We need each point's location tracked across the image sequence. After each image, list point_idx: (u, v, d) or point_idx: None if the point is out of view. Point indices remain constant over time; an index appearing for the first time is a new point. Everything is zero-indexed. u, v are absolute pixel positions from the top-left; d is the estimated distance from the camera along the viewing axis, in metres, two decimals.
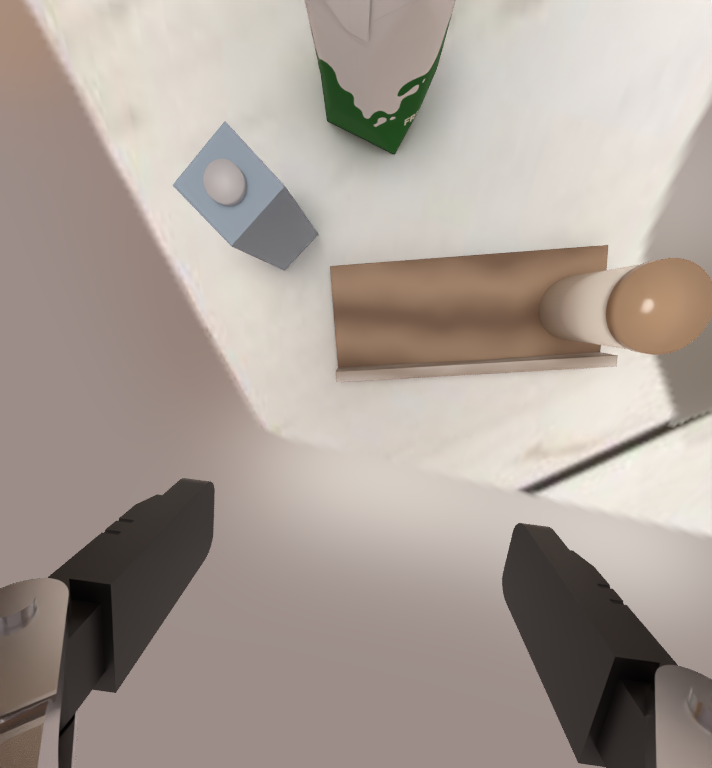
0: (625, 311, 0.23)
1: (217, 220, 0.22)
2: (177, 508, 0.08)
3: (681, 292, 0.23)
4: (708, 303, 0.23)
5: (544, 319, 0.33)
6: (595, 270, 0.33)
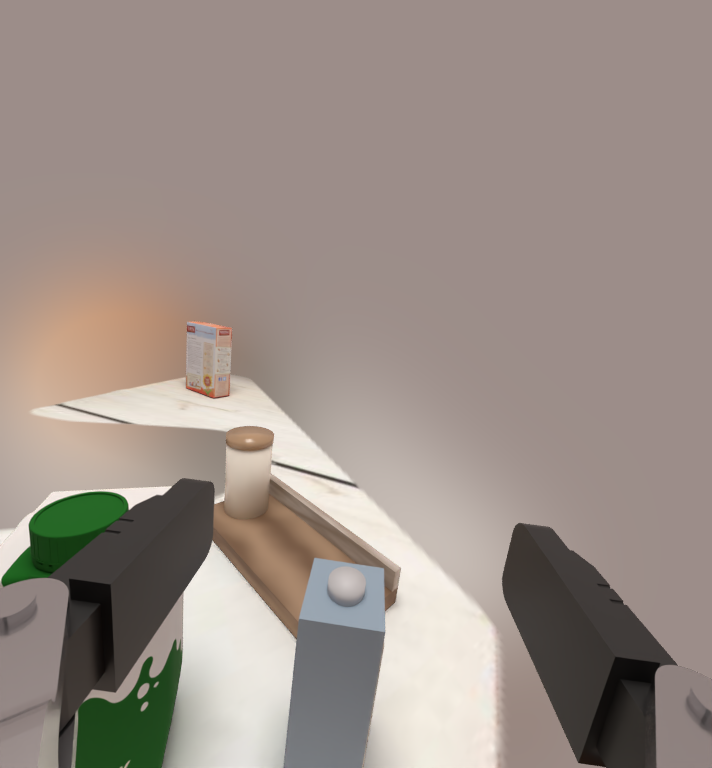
0: (260, 440, 0.46)
1: (376, 585, 0.23)
2: (177, 508, 0.08)
3: (241, 433, 0.47)
4: (239, 428, 0.49)
5: (263, 508, 0.48)
6: (217, 507, 0.49)
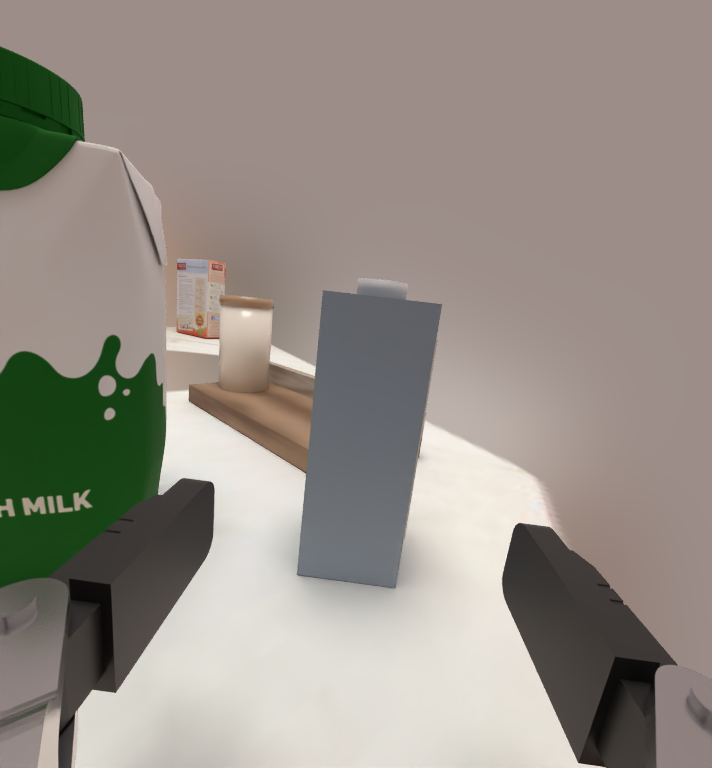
0: None
1: None
2: (177, 508, 0.08)
3: None
4: None
5: (262, 384, 0.43)
6: (210, 384, 0.43)
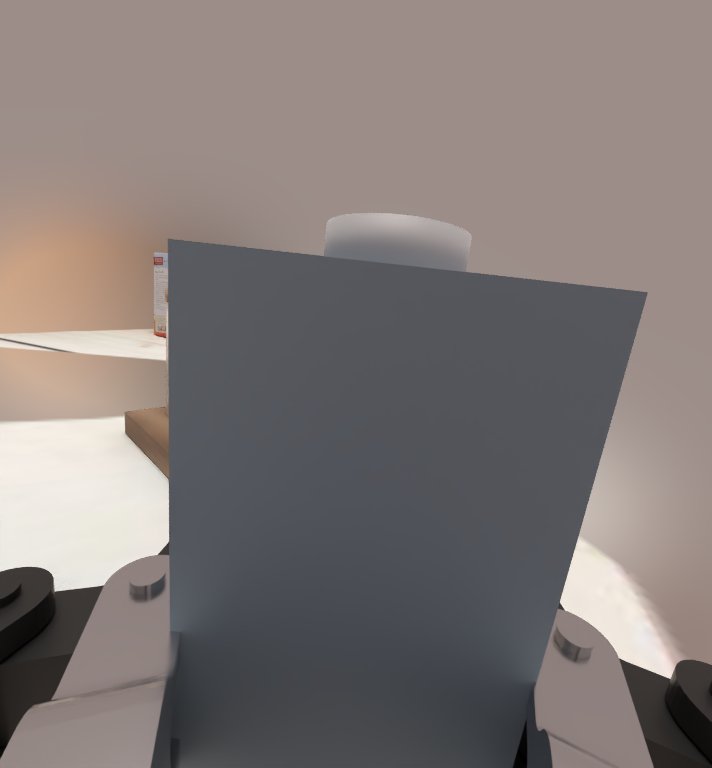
0: None
1: None
2: None
3: None
4: None
5: None
6: (155, 411, 0.32)
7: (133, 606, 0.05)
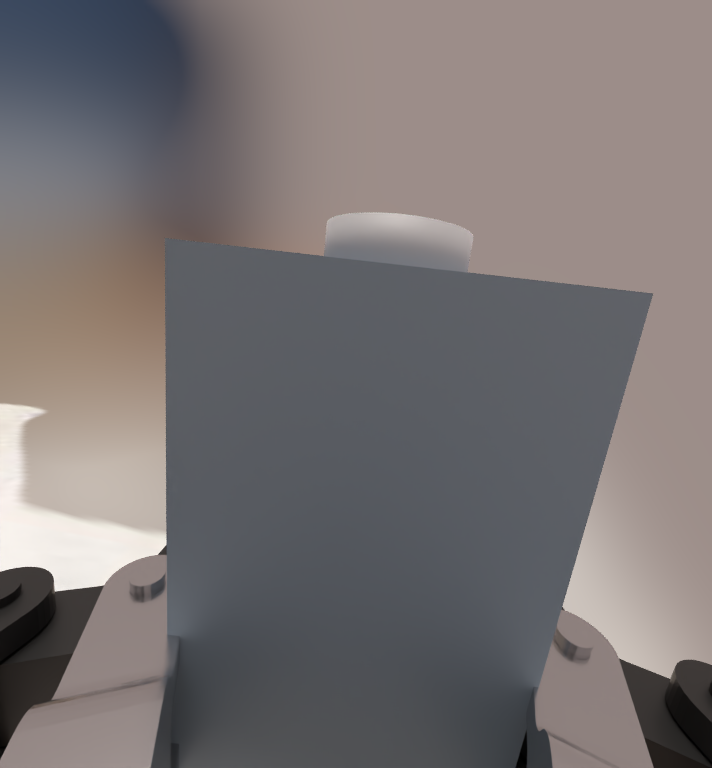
0: None
1: None
2: None
3: None
4: None
5: None
6: None
7: (133, 606, 0.05)
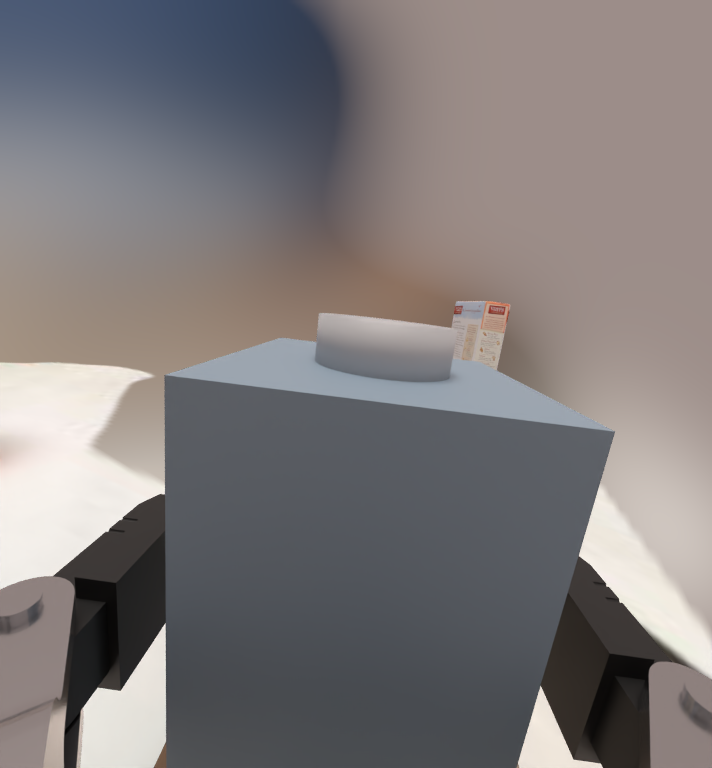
0: None
1: (478, 371, 0.07)
2: None
3: None
4: None
5: None
6: None
7: None
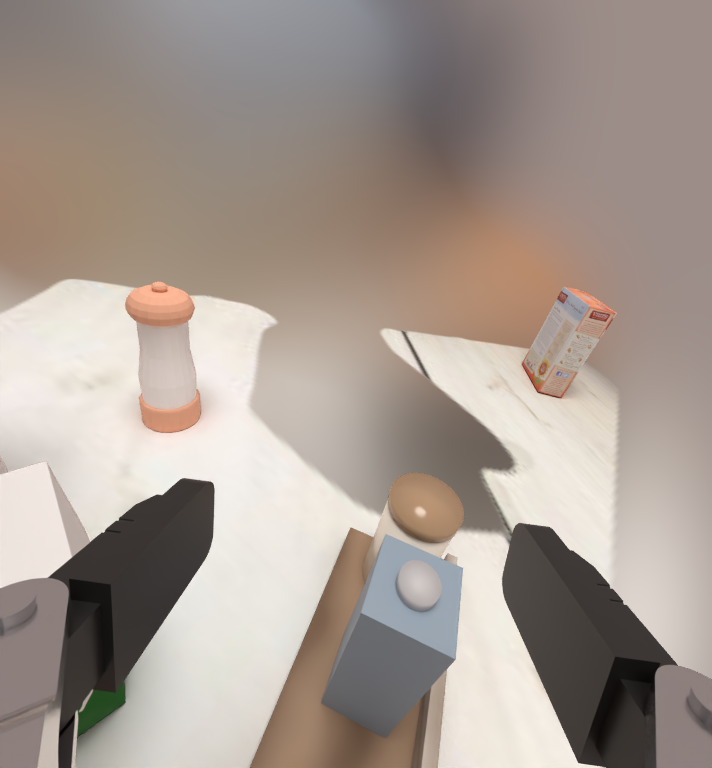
0: (425, 526, 0.27)
1: (452, 589, 0.20)
2: (177, 508, 0.08)
3: (417, 489, 0.30)
4: (428, 478, 0.31)
5: None
6: (366, 543, 0.37)
7: None
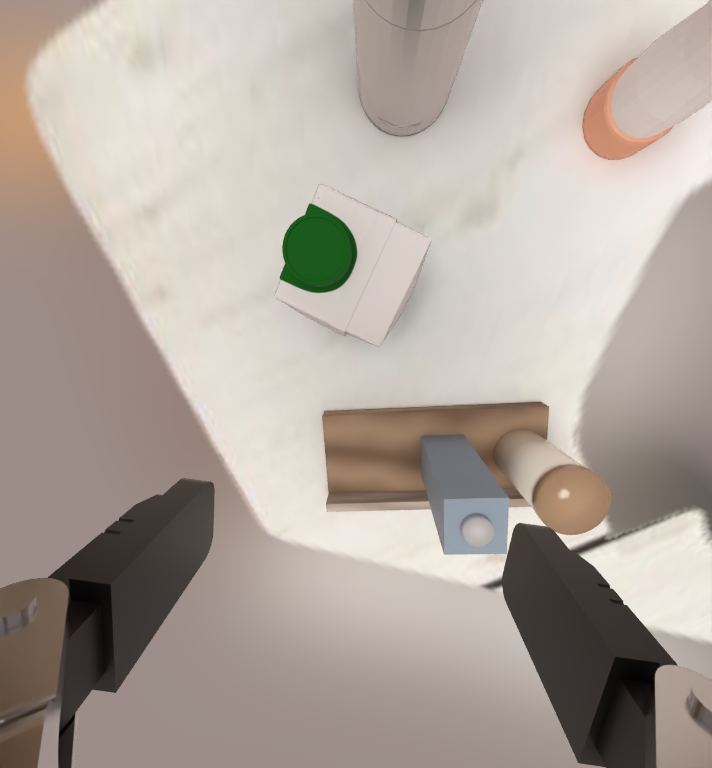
0: (545, 507, 0.30)
1: (486, 548, 0.28)
2: (177, 508, 0.08)
3: (584, 491, 0.30)
4: (606, 497, 0.30)
5: (498, 466, 0.41)
6: (538, 425, 0.40)
7: None
